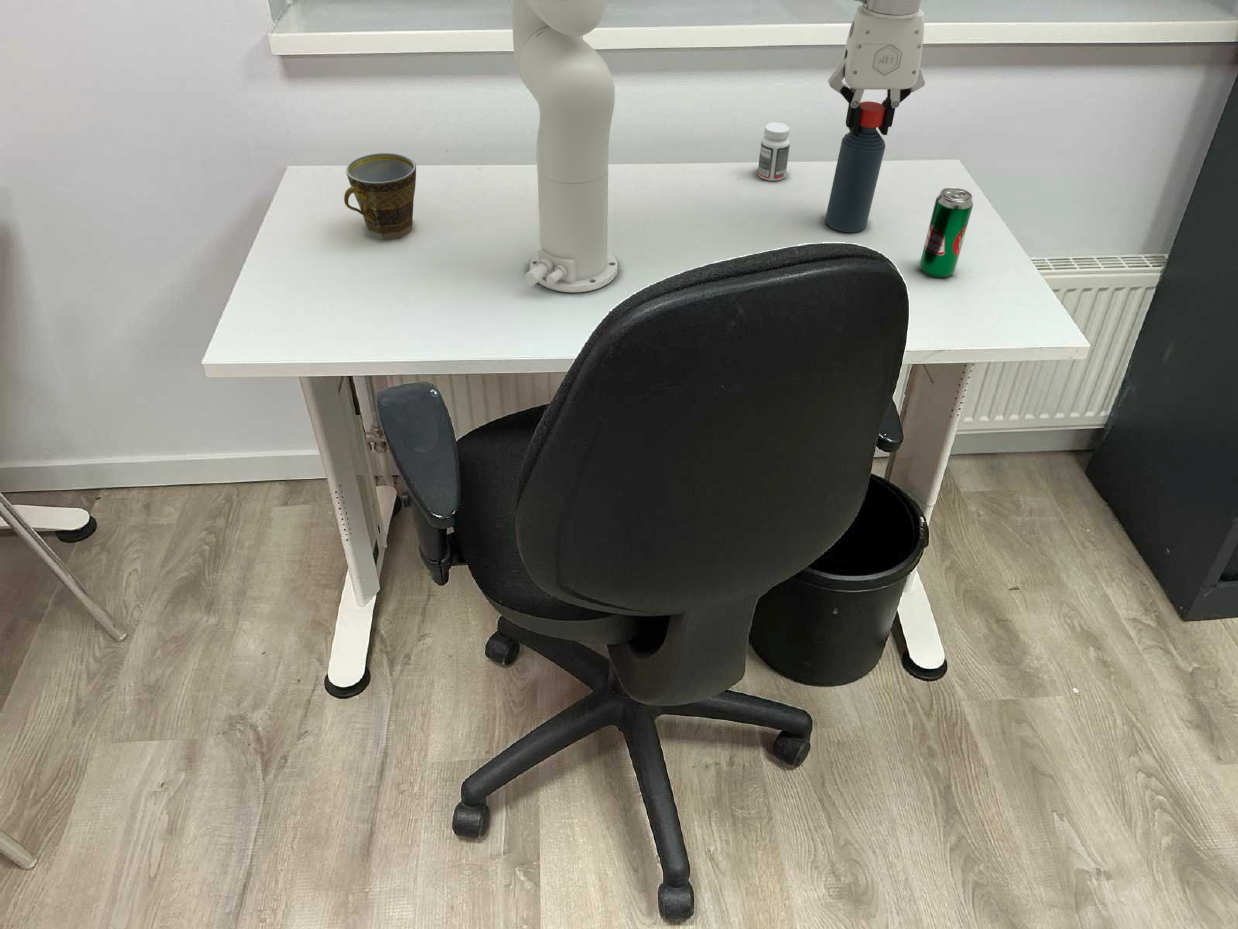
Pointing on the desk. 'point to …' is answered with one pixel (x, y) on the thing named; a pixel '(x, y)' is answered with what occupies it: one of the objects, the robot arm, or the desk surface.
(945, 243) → the soda can
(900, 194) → the desk surface
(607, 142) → the robot arm
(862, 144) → the bottle
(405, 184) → the ceramic cup
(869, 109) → the cap
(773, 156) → the pill bottle
